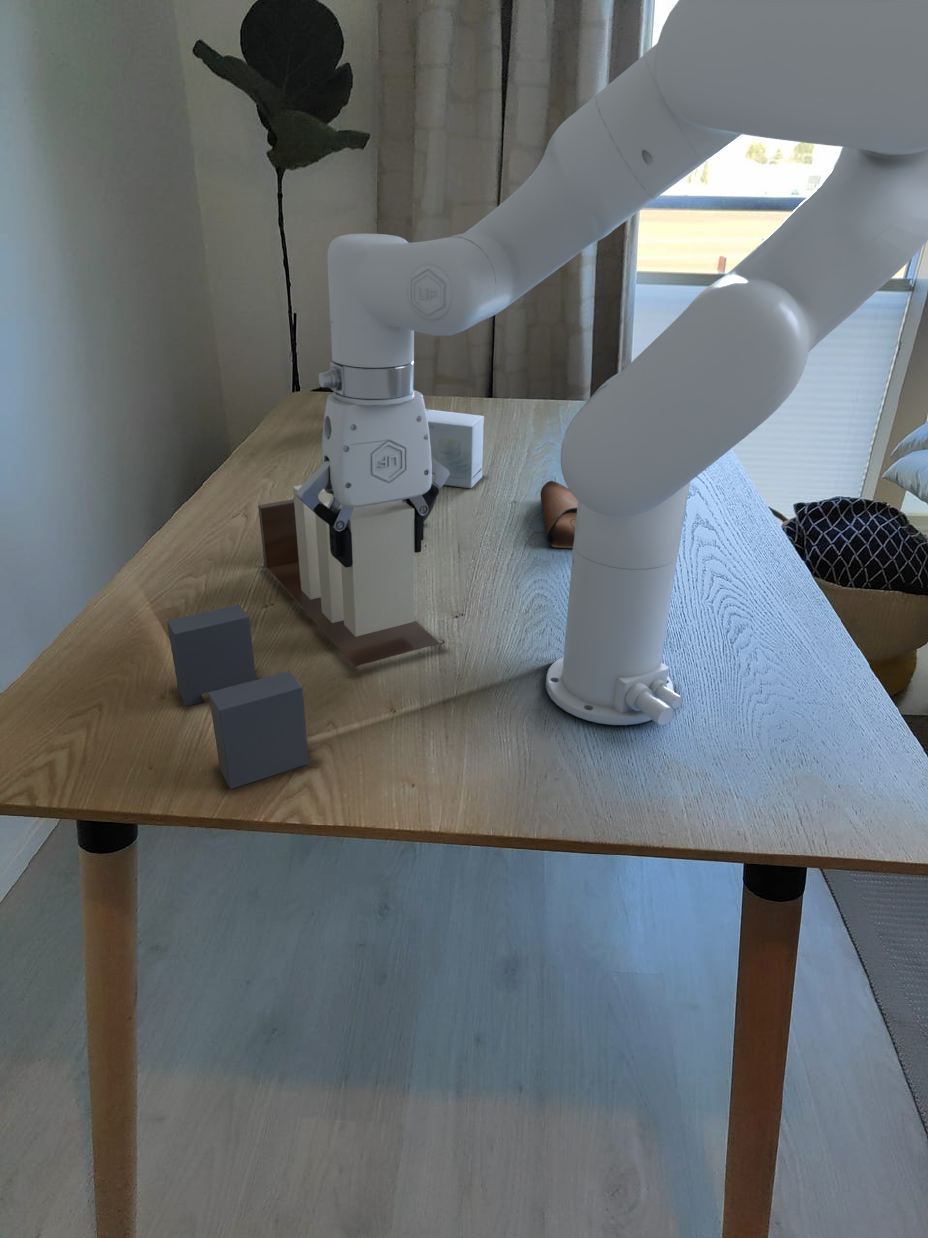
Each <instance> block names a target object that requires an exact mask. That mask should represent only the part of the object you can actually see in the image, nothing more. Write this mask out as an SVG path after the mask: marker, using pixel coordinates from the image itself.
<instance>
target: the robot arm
mask: <svg viewBox="0 0 928 1238" xmlns="http://www.w3.org/2000/svg"><path fill="white" fill-rule="evenodd" d="M743 135H746V136H752V137H758V138H765V139H773V140H779V141H787V142H794V143H795V142H796V143H803V144H804V143H805V144H812V145H813V144H814V145H820V146H821V145H822V146H831V147H841V149H840V153H839V156H838V158H837V159H836V162H835V163H834V165H833V167H832V169H831V170H830V172H829V173H828V174H827V176H826V178H825V179H824V180H823V181H822V182H821V183H819V185H818V186H817V187H816V188H815V189H814V190H813V191H812V192H811V193H810V194H809V195H808V196H807V197H806V198H805V199H804V200H803V201H802V202H801V203H800V204H799V205H798V206H797V207H796V208H794V209H793V210H792V212H790V214H789V215H787V217H786V218H785V219H784V220H783V222H782V223H781V224H780V225H778V227H776V228H775V229H774V231H772V232H771V233H770V234H769V235H768V236H767V237H766V238H765V239H764V240H763V241H761V243H759V244H758V245H757V246H756V247H755V249H753V250H752V251H751V252H750V253H749V254H748V255H747V256H745V257H744V258H743V259H742V260H741V261H740V262H739V263H738V264H736V266H734V267H732V269H730V271H729V272H727V273H726V274H725V275H723V276H722V277H721V278H719V279H717V280H716V281H714V282H713V283H711V284H709V286H707V287H706V288H705V289H703V290H702V291H701V292H700V293H699V294H698V295H697V296H696V297H695V298H694V299H693V300H692V302H690V304H689V305H688V307H686V308H685V310H683V312H682V313H681V314H679V316H678V317H676V319H675V320H674V321H673V322H672V323H670V324H669V325H668V326H667V327H666V328H665V330H664V331H662V332H661V333H660V334H659V335H658V336H657V337H656V338H655V339H654V340H653V341H652V342H651V343H650V344H648V346H647V347H645V349H644V350H643V351H642V352H641V353H639V354H638V355H637V356H636V357H635V358H634V359H633V360H632V361H631V362H629V364H628V365H626V367H624V369H623V370H621V371H620V372H617V373H616V374H614V375H612V376H611V377H610V378H608V379H607V380H606V381H605V382H604V383H602V384H601V385H600V387H598V388H597V389H596V390H595V391H594V393H593V394H592V395H591V396H590V397H589V398H588V399H587V401H586V402H585V404H584V405H582V407H581V408H580V409H579V410H578V412H576V414H575V415H574V417H573V418H572V419H571V421H570V422H569V424H568V427H567V428H566V430H565V432H564V436H563V437H562V442H561V448H560V468H561V474H562V476H563V477H562V478H563V480H564V482H565V484H566V488H568V489H569V490H570V492H571V493H572V494H573V496H574V497H575V498H576V499H577V500H578V507H577V515H576V524H575V535H574V543H573V549H572V553H571V554H572V555H571V566H570V577H569V578H570V579H569V590H568V601H567V602H568V603H567V611H566V626H565V635H564V636H565V637H564V647H563V656H562V657H560V658H558V659H556V660H555V661H554V662H553V663H552V664H551V665H550V666H549V668H548V669H547V672H546V676H545V677H546V678H545V688H546V692H547V694H548V696H549V698H550V700H552V702H554V703H555V705H556V706H558V707H559V708H560V709H561V710H563V711H565V712H566V713H568V714H570V715H572V716H574V717H576V718H579V719H582V720H584V721H588V722H591V723H596V724H599V725H600V724H601V725H608V726H631V725H639V724H643V723H648V722H649V721H650V722H651V721H653V722H654V723H655V724H657V725H658V726H660V727H664V726H666V725H668V724H669V723H670V722H671V721H672V720H673V716H674V713H675V712H674V710H677V709H679V708H680V707H681V706H682V704H683V702H684V698H683V697H682V696H681V695H680V694H678V693H677V692H675V688H674V682H673V681H672V678H671V677H670V676H669V671H670V667H669V666H668V665H666V664H664V663H663V656H664V648H665V642H666V637H667V636H666V635H667V630H668V622H669V615H670V609H671V603H672V598H673V597H672V596H673V590H674V582H675V576H676V570H677V563H678V557H679V554H680V547H681V540H682V534H683V527H684V521H685V520H684V519H685V515H686V508H687V503H688V497H689V492H690V486H691V482H692V481H693V480H694V479H696V478H698V476H699V475H700V474H702V473H703V472H704V471H705V470H707V469H708V468H709V467H710V466H712V465H713V464H714V463H716V462H717V461H718V460H720V458H721V457H723V456H724V455H725V454H727V453H728V452H729V451H730V450H731V449H733V448H734V447H735V446H737V444H739V443H741V442H742V441H743V440H744V439H745V438H746V437H748V436H750V434H751V433H752V432H754V431H755V430H757V428H758V427H760V426H761V425H762V424H763V423H765V422H766V421H767V420H768V419H769V418H770V417H771V416H772V415H773V414H774V413H775V412H777V410H778V409H779V408H780V407H781V406H782V405H783V404H784V402H786V400H787V399H788V398H789V397H790V395H792V394H793V391H794V390H795V389H796V387H797V385H798V384H799V381H800V380H801V378H802V375H803V374H804V371H805V369H806V365H807V361H808V357H809V354H810V352H811V351H812V350H813V349H815V347H816V346H817V345H818V344H819V343H820V342H821V341H823V340H824V339H825V338H826V337H827V336H828V335H830V333H832V332H833V331H834V330H835V329H836V328H837V327H839V326H840V325H841V324H842V323H843V322H844V321H846V319H848V318H849V317H850V316H851V315H853V313H855V312H856V311H857V310H858V309H859V308H860V307H861V306H862V305H863V304H865V302H867V301H868V300H869V299H870V298H871V297H872V296H873V295H874V294H876V293H877V292H878V291H879V290H880V289H881V288H882V287H883V286H884V285H886V284H888V282H889V281H890V280H891V279H892V278H893V277H894V276H896V274H897V273H899V272H900V271H901V270H902V269H903V268H904V267H905V266H906V265H907V264H908V263H909V262H910V261H911V260H912V259H913V258H914V257H915V256H916V254H917V253H919V251H920V250H921V249H922V248H923V247H924V246H925V244H926V243H927V242H928V0H678V1H677V2H676V4H675V5H674V6H673V8H672V9H671V10H670V12H669V13H668V15H667V17H666V19H665V21H664V23H663V26H662V27H661V31H660V34H659V37H658V39H657V43H656V44H655V45H654V46H652V47H651V48H650V49H648V50H647V51H646V52H645V53H644V54H643V55H642V56H641V57H640V58H638V59H637V60H636V61H635V62H633V63H632V64H631V65H630V66H629V67H628V68H627V69H625V70H624V71H622V73H620V74H619V75H618V76H617V77H616V78H614V79H613V80H612V81H611V82H609V83H608V84H607V85H606V86H605V87H603V89H602V90H600V91H599V92H598V93H596V94H595V95H594V96H593V97H591V99H589V100H588V101H587V102H586V103H585V104H583V105H582V106H581V107H580V108H579V109H577V110H576V111H575V112H573V114H571V115H570V116H569V117H567V119H565V120H564V121H563V122H562V123H561V124H560V125H559V126H558V128H556V130H555V131H554V132H553V134H552V135H551V137H550V139H549V141H548V143H547V146H546V148H545V151H544V154H543V156H542V158H541V160H540V162H539V164H538V165H537V167H536V168H535V170H533V172H532V174H531V175H530V176H528V178H527V179H526V180H525V181H524V182H523V183H522V184H521V185H520V186H519V187H518V188H517V189H516V190H515V191H514V192H513V193H511V194H510V196H508V197H507V198H506V199H505V200H504V201H502V202H501V203H500V204H499V205H498V206H496V207H495V208H494V209H493V210H492V211H490V212H489V213H488V214H487V215H486V216H484V217H483V218H482V219H480V221H478V222H477V223H476V224H474V225H473V226H471V227H470V228H469V229H468V230H466V231H465V232H463V233H458V234H454V235H448V236H446V237H442V238H436V239H431V240H430V239H429V240H424V241H415V242H409V241H407V240H406V239H405V238H403V237H401V236H398V235H393V234H385V233H349V234H343V235H339V236H336V237H334V238H333V240H331V241H330V243H329V246H328V248H327V255H326V256H327V263H326V264H327V265H326V266H327V283H328V305H329V325H330V326H329V327H330V343H331V345H330V346H331V361H329V369H327V370H326V371H322V372H319V373H318V383H319V386H320V388H328V389H330V390H331V391H333V393H330V394H328V395H327V398H326V404H325V408H324V417H323V424H322V436H321V438H322V439H321V465H320V466H319V467H318V468H317V469H316V470H315V471H314V472H313V474H312V475H310V477H308V479H307V480H306V481H305V482H304V483H303V484H301V485H302V486H301V487H300V489H299V490H298V491H297V493H296V494H297V497H298V498H299V499H300V500H301V501H302V502H303V503H304V504H305V505H306V506H308V507H309V508H310V509H311V510H312V511H313V512H314V513H315V514H316V515H317V516H318V517H320V518H321V519H322V520H324V521H325V522H326V523H327V524H329V535H330V551H331V554H332V556H333V557H334V558H336V559H337V560H338V561H339V562H340V563H341V564H342V565H343V566H344V567H345V568H347V567H351V565H352V564H353V558H352V533H351V531H350V530H349V529H348V528H347V523H348V520H349V518H350V516H351V513H352V511H353V509H354V508H357V507H364V506H370V505H376V504H381V503H387V502H393V501H398V500H404V501H405V503H407V504H408V505H409V506H411V507H412V508H414V554H417V553H421V552H422V541H423V540H424V535H425V532H424V525H425V524H424V522H425V521H424V515H426V514H427V513H428V511H429V508H428V507H429V505H430V504H431V503H432V502H433V501H434V499H435V498H436V497H438V496H439V494H440V489H442V488H443V486H445V485H444V483H445V482H446V480H447V479H448V477H449V476H450V471H449V470H448V469H447V468H446V467H444V466H443V465H442V464H440V463H439V462H438V461H437V460H435V459H434V458H433V457H431V446H430V435H429V427H428V420H427V414H426V409H427V408H426V405H425V399H424V395H423V393H422V392H419V391H418V390H415V332H417V333H420V334H424V335H429V336H434V337H448V336H453V335H454V336H455V335H457V334H460V333H462V332H464V331H466V330H468V329H471V328H473V327H474V326H475V325H477V324H479V323H481V322H483V321H487V320H488V319H490V318H492V317H494V316H495V315H498V314H499V313H500V312H502V311H503V310H505V309H507V307H509V306H510V305H511V304H513V303H515V302H516V301H517V300H518V299H520V298H521V297H523V296H524V295H525V294H527V293H528V292H529V291H531V290H532V289H533V288H535V287H536V286H538V284H540V283H541V282H543V281H544V280H545V279H547V278H548V277H550V276H551V275H552V274H553V273H555V272H556V271H557V270H559V269H560V268H562V267H563V266H564V265H566V264H567V263H568V262H570V261H571V260H572V259H574V257H576V256H577V255H578V254H580V253H581V252H583V251H584V250H585V249H587V248H588V247H589V246H591V245H593V244H595V243H597V242H599V241H600V240H602V239H604V238H606V237H607V236H609V235H610V234H611V233H612V232H613V231H615V230H616V229H617V228H618V227H620V226H621V225H622V224H624V223H625V222H627V221H628V220H630V218H632V217H633V216H634V215H636V214H637V213H639V212H640V211H641V210H643V209H644V208H645V207H647V206H648V205H650V203H652V202H653V201H655V200H656V199H657V198H658V197H660V196H661V195H662V194H663V193H665V192H666V191H668V190H669V189H671V187H673V186H675V185H676V184H678V183H679V182H680V181H681V180H682V179H684V178H686V176H688V175H690V174H691V173H692V172H694V171H695V170H697V169H698V168H699V167H700V166H702V165H703V164H705V163H706V162H707V161H709V160H710V159H712V158H714V157H715V156H716V155H717V154H719V153H720V152H721V151H723V150H724V149H726V148H727V147H728V146H730V145H731V144H732V143H733V142H735V141H737V140H738V139H739V138H740V137H742V136H743ZM323 489H324V490H325V491H326V492H327V493H329V494H332V498H331V500H330V502H329V505H328V507H326V506H325V505H324V504H323V503H322V502H321V501H320V500H319V499H318V494H319V493H320V492H321V491H322V490H323ZM436 499H437V498H436Z"/></svg>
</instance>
